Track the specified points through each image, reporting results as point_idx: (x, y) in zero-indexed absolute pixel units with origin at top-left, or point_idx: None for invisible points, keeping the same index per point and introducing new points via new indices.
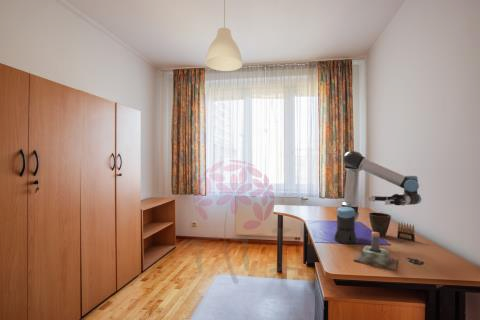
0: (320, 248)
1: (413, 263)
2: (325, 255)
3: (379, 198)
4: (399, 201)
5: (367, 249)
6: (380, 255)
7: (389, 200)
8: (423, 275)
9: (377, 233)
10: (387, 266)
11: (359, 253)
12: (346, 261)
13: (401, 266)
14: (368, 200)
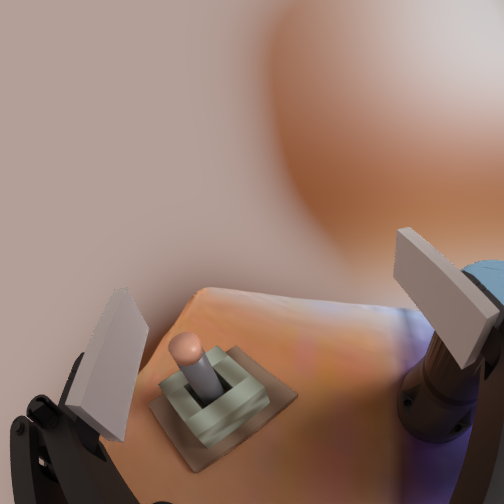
0: (345, 306)
1: (160, 502)
2: (289, 304)
3: (491, 413)
4: (22, 423)
5: (223, 368)
6: (173, 376)
7: (98, 334)
8: (104, 444)
9: (172, 344)
10: (165, 396)
11: (275, 385)
12: (240, 333)
13: (159, 446)
14: (401, 277)
